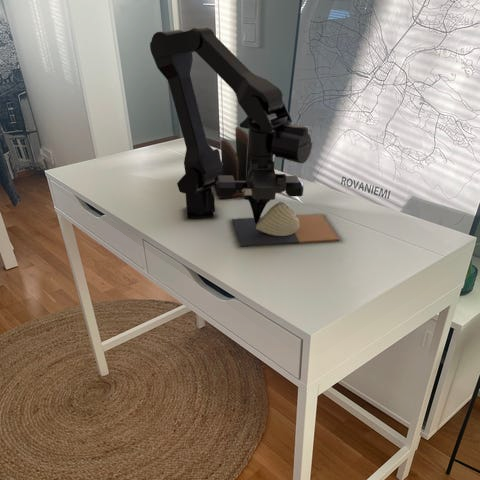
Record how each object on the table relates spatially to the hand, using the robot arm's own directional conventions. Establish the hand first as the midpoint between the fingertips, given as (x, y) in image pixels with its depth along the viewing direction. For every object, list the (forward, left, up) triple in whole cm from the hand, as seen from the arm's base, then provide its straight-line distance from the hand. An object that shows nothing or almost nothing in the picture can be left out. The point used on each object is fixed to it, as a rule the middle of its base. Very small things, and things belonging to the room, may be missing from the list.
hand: (256, 222), depth 110 cm
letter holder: (-2, +31, -2) cm, 32 cm away
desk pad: (+6, 0, -2) cm, 7 cm away
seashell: (+5, 0, -2) cm, 6 cm away
